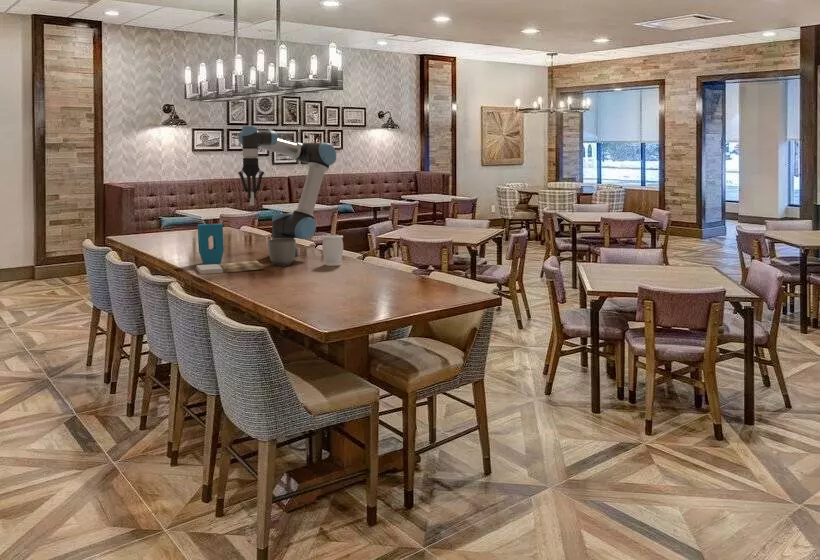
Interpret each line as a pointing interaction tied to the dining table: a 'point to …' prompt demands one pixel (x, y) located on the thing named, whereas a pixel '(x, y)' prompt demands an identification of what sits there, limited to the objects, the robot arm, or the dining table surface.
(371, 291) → the dining table surface
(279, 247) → the planter
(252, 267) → the plank
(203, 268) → the floor board
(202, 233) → the block
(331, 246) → the jar
